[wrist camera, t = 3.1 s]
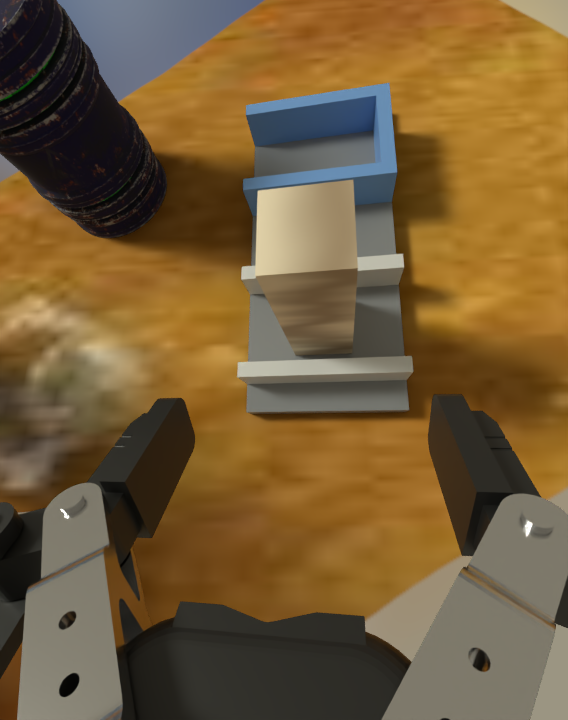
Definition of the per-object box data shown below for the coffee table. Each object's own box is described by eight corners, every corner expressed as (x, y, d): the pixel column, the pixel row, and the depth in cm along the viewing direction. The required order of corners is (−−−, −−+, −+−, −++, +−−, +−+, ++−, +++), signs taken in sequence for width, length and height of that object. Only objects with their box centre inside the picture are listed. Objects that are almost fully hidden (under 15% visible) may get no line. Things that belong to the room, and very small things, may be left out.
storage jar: (140, 133, 35) (-53, -171, 18) (186, 197, 32) (6, -93, 15) (57, 189, 35) (-216, -62, 18) (95, 258, 32) (-188, 37, 15)
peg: (295, 355, 26) (255, 275, 14) (295, 303, 27) (257, 190, 15) (352, 353, 25) (357, 268, 13) (349, 300, 26) (353, 179, 14)
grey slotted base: (250, 413, 26) (233, 406, 22) (259, 130, 33) (247, 85, 29) (406, 412, 24) (417, 403, 20) (381, 113, 31) (387, 62, 27)
